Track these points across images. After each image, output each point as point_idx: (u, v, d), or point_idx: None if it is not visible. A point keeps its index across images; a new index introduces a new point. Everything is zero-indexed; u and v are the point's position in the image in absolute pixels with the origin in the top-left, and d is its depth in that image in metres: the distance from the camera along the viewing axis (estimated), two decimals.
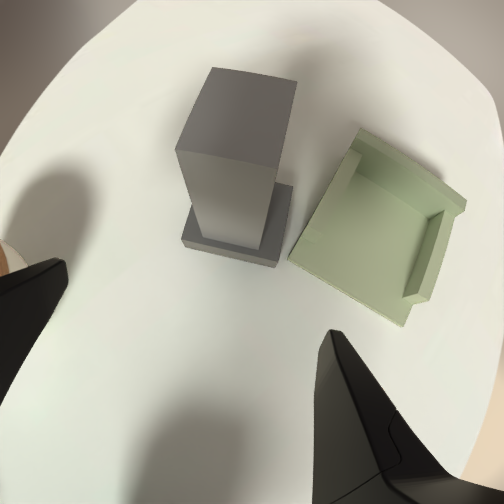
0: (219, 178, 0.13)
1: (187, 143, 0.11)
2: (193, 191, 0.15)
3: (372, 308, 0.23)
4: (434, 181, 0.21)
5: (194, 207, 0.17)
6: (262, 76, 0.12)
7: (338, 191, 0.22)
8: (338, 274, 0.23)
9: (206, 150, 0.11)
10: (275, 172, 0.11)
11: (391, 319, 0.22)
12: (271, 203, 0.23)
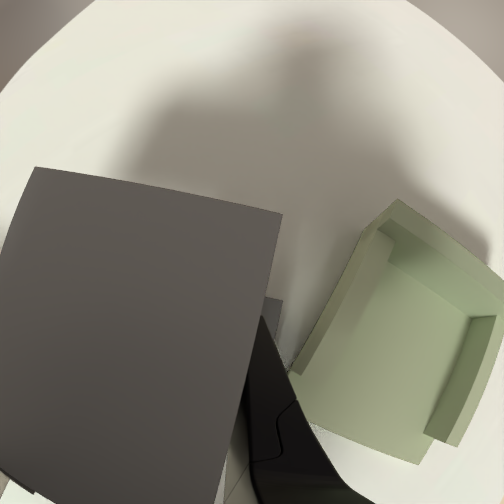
0: None
1: None
2: None
3: (382, 452, 0.14)
4: (493, 282, 0.13)
5: None
6: (159, 197, 0.04)
7: (355, 312, 0.14)
8: (342, 418, 0.14)
9: (27, 478, 0.03)
10: None
11: (405, 460, 0.14)
12: None
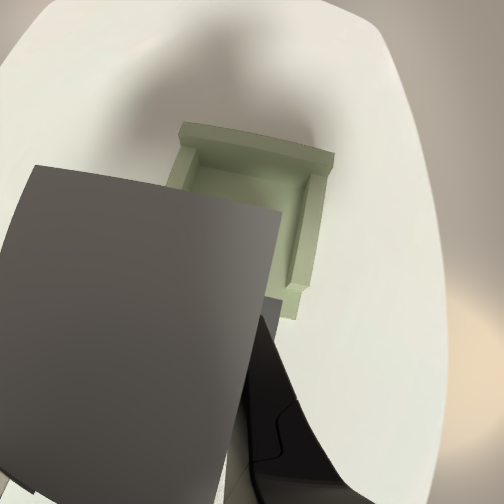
0: None
1: None
2: None
3: None
4: (282, 147, 0.20)
5: None
6: (160, 195, 0.04)
7: None
8: None
9: (26, 477, 0.03)
10: None
11: None
12: None
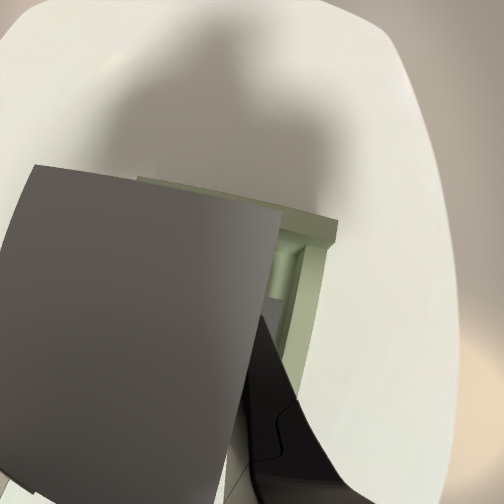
0: None
1: None
2: None
3: None
4: None
5: None
6: (159, 195, 0.04)
7: None
8: None
9: (25, 477, 0.03)
10: None
11: None
12: None
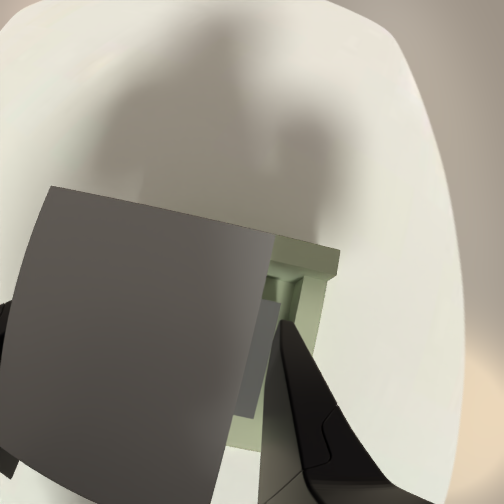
0: None
1: (10, 440, 0.03)
2: None
3: None
4: None
5: None
6: (168, 218, 0.04)
7: None
8: None
9: (45, 469, 0.03)
10: None
11: (254, 450, 0.15)
12: None
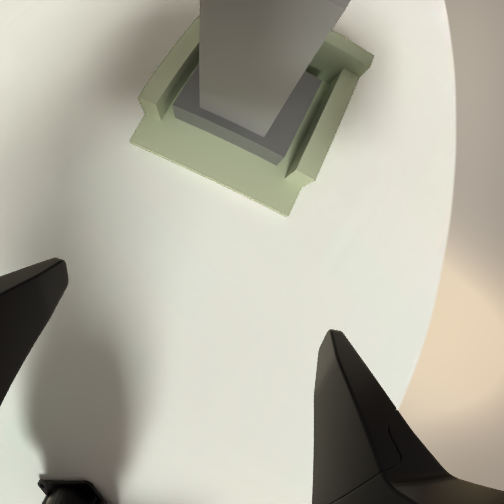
0: (251, 10, 0.07)
1: None
2: (207, 30, 0.09)
3: (241, 192, 0.19)
4: None
5: (201, 57, 0.11)
6: None
7: (183, 53, 0.15)
8: (191, 152, 0.18)
9: None
10: (339, 15, 0.06)
11: (269, 206, 0.19)
12: None
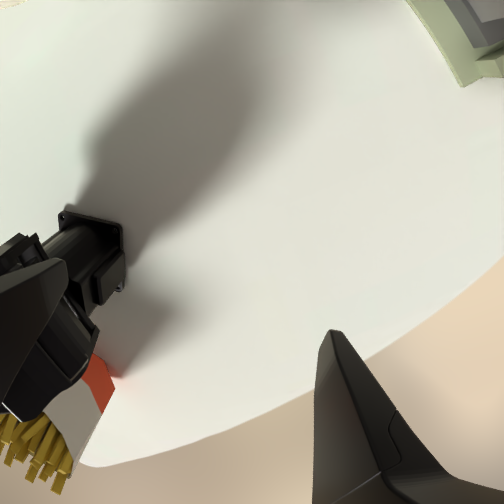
0: None
1: None
2: None
3: (439, 44, 0.13)
4: None
5: None
6: None
7: None
8: None
9: None
10: None
11: (454, 70, 0.14)
12: None
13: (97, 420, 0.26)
